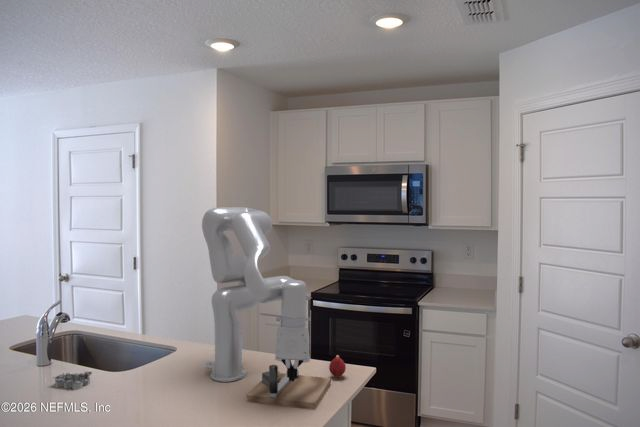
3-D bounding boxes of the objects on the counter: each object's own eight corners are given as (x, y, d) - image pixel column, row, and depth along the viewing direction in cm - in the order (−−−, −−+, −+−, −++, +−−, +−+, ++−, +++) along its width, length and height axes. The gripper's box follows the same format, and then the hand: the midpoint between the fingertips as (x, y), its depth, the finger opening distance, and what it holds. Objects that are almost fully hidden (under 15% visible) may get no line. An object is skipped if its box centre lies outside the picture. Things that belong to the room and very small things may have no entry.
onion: (344, 381, 161) (344, 358, 160) (327, 380, 162) (327, 357, 162) (346, 375, 166) (346, 353, 166) (330, 374, 168) (330, 352, 167)
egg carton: (93, 383, 159) (93, 371, 159) (76, 391, 152) (76, 379, 152) (69, 379, 163) (69, 367, 163) (50, 387, 155) (50, 375, 155)
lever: (288, 372, 163) (288, 346, 162) (300, 374, 161) (300, 347, 161) (265, 396, 143) (265, 366, 143) (278, 398, 142) (278, 368, 141)
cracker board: (247, 401, 145) (247, 383, 145) (270, 377, 164) (270, 361, 164) (315, 409, 139) (315, 391, 139) (330, 384, 159) (330, 367, 158)
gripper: (266, 323, 139) (265, 383, 140) (316, 325, 138) (315, 386, 139) (271, 316, 147) (270, 373, 148) (318, 318, 146) (317, 376, 147)
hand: (292, 379), depth 143 cm, fingers closed
